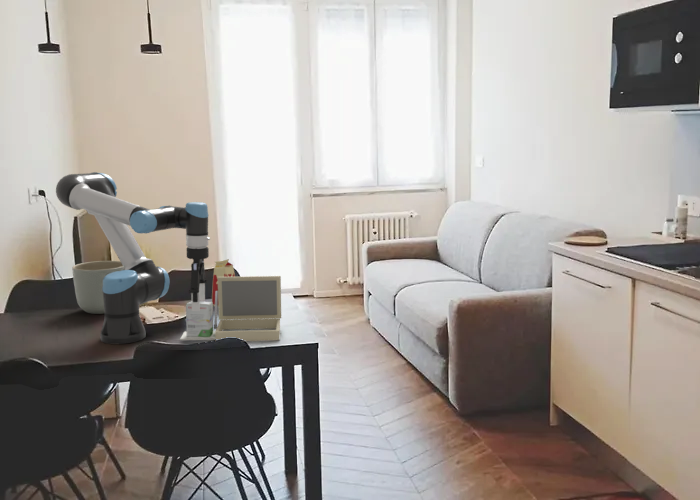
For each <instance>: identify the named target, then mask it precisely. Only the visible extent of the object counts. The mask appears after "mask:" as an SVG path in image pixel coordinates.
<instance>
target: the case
mask: <svg viewBox="0 0 700 500" xmlns="http://www.w3.org/2000/svg"><path fill="white" fill-rule="evenodd" d="M281 281H282V277H281V275H263V276H262V275H258V276H251V275H250V276H247V275H246V276H245V275H244V276H235V277H218V291H216V292H215V306H214V319H213V330H215V331H216V332H215V338H216V339H221V338H226V337H236V338H240V339H243V340H246V341H245V342H261V341H262V342H263V341H280V337H281V333H280V332H281V319H282V284H281V283H282V282H281ZM217 306H219V307H217ZM218 320H219V321H218Z"/></svg>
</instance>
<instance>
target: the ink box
mask: <svg viewBox="0 0 700 500" xmlns="http://www.w3.org/2000/svg"><path fill="white" fill-rule="evenodd" d="M213 308H214V306H213V302H212V301H200V311H192V303H191V301H189V302H187V303H185V317H186V318H185V321H186V325H185V327H186V332H187V336H199V337H210V336H211V335H212V334H213V331H214V309H213Z"/></svg>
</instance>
